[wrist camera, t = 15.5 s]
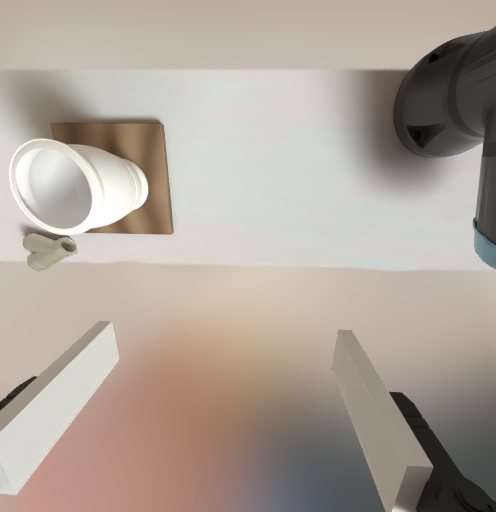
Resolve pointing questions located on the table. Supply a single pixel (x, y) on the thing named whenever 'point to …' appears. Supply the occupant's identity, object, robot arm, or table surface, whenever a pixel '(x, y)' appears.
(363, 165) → the table surface
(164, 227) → the walnut board
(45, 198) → the jar
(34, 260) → the pipe fitting
